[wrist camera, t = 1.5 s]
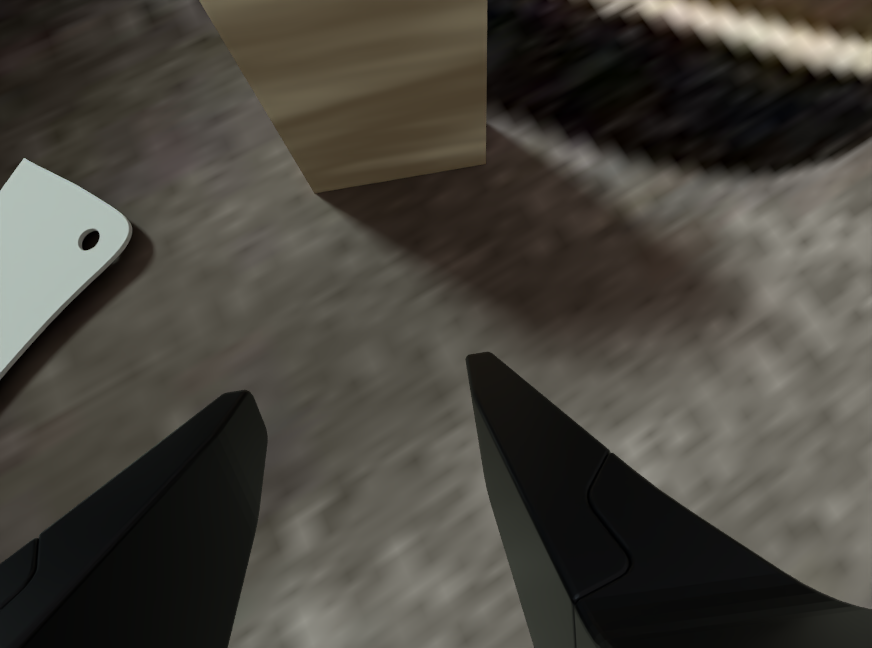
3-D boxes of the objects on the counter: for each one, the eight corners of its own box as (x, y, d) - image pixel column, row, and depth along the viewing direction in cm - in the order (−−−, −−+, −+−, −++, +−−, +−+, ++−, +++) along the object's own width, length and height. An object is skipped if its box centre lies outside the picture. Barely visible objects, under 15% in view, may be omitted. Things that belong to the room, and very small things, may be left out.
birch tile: (485, 163, 25) (487, -96, 14) (314, 193, 26) (177, -37, 14) (476, 117, 26) (471, -168, 15) (310, 146, 26) (176, -109, 15)
